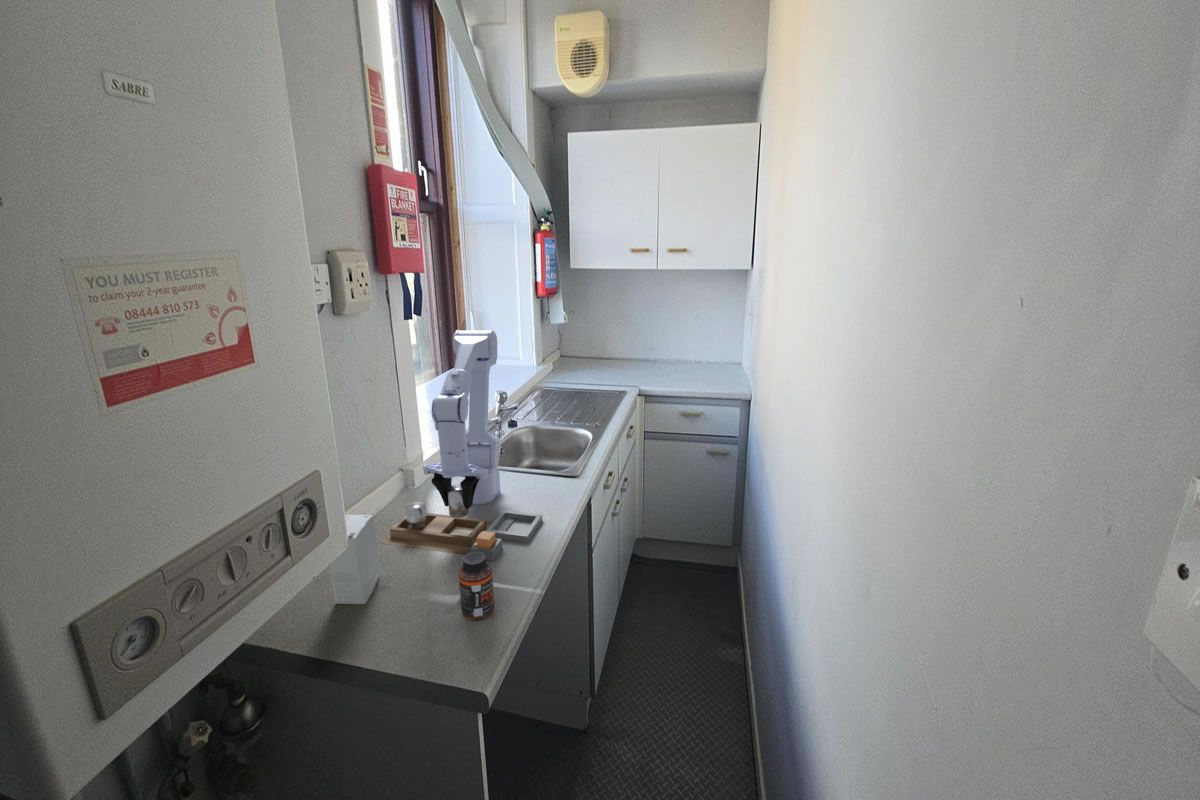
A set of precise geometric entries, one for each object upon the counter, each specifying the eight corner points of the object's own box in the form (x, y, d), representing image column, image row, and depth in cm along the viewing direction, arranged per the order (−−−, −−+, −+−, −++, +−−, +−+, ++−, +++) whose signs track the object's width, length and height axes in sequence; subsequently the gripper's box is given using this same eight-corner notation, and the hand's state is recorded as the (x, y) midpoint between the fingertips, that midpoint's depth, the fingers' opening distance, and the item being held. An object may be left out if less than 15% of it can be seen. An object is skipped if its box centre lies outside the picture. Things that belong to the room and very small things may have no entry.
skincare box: (353, 578, 111) (343, 513, 106) (383, 578, 110) (374, 513, 106) (334, 606, 102) (321, 536, 98) (366, 606, 102) (355, 536, 98)
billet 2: (455, 506, 125) (453, 483, 123) (473, 509, 124) (471, 485, 122) (445, 516, 121) (443, 491, 119) (463, 518, 120) (461, 494, 118)
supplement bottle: (487, 624, 98) (482, 569, 94) (456, 619, 99) (450, 565, 95) (499, 602, 103) (496, 550, 100) (470, 598, 104) (465, 546, 101)
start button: (483, 543, 119) (482, 530, 118) (495, 544, 119) (495, 532, 118) (477, 550, 116) (476, 538, 116) (490, 552, 116) (489, 539, 115)
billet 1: (414, 523, 129) (411, 500, 127) (431, 525, 128) (428, 502, 127) (404, 533, 125) (401, 509, 123) (421, 535, 124) (418, 511, 122)
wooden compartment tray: (415, 516, 135) (414, 505, 134) (494, 525, 130) (494, 514, 129) (381, 546, 122) (379, 534, 121) (468, 558, 117) (466, 546, 116)
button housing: (481, 548, 121) (480, 536, 120) (502, 550, 120) (501, 538, 119) (471, 560, 116) (470, 548, 115) (493, 563, 115) (492, 551, 114)
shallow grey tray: (503, 517, 134) (502, 510, 133) (542, 522, 131) (542, 514, 131) (486, 539, 124) (485, 531, 124) (527, 544, 122) (527, 536, 121)
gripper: (413, 452, 116) (419, 510, 120) (476, 458, 113) (481, 517, 117) (430, 441, 122) (436, 495, 126) (490, 446, 119) (494, 502, 123)
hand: (458, 505), depth 122 cm, fingers closed on billet 2, 4 cm apart
